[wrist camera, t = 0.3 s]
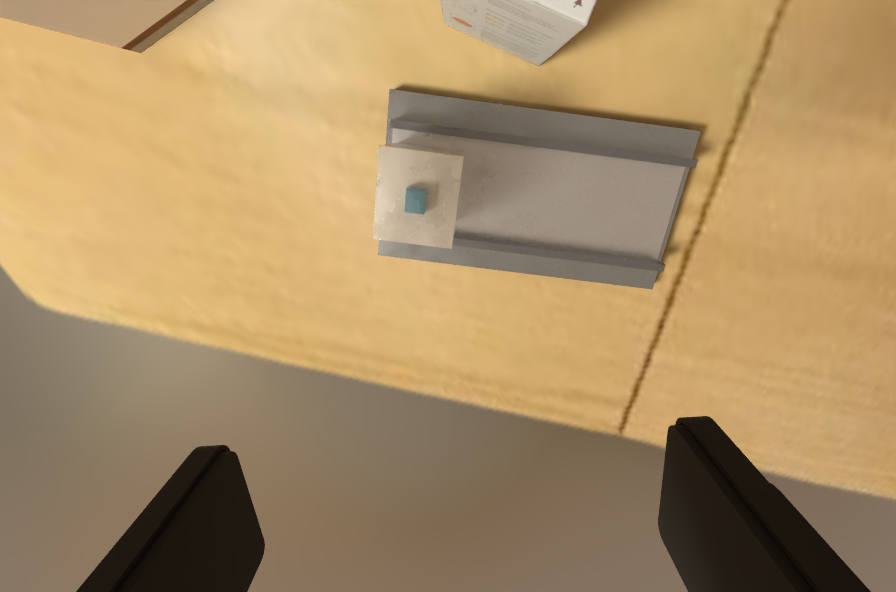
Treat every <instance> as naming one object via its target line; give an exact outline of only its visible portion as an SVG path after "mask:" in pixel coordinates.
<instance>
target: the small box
mask: <svg viewBox="0 0 896 592" xmlns="http://www.w3.org/2000/svg"><path fill="white" fill-rule="evenodd" d="M596 2H597V0H441V7H442V14H443V21H444V24H446V25H448V26H450V27H452V28H454V29H456V30H459V31H461V32H463V33H465V34H467V35H469V36H472V37H474V38H476V39H478V40H480V41H483V42H485V43H487V44H489V45H492V46H494V47H496V48H498V49H501V50H503V51H505V52H507V53H509V54H512V55H514V56H516V57H518V58H521V59H523V60H525V61H528V62H530V63H532V64H535V65H537V66H540V65H541V64H542V63H544V62H545V61H546V60H547V59H548V58H550V57H551V56H552V55H553V54H554V53H555V52H557V51H558V50H559V49H560V48H561V47H562V46H563V45H565V44H566V43H567V42H568V41H569V40H570V39H572V38H573V37H574V36H575V35H576V34H577V33H579V32H580V31H581V30H582V29H583V28H584V27H586V26H587V24H588V22H589V19H590V17H591V14H592V12H593V9H594V7H595V4H596Z"/></svg>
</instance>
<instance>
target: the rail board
mask: <svg viewBox="0 0 896 592" xmlns="http://www.w3.org/2000/svg"><path fill="white" fill-rule="evenodd" d="M700 133H701V131H697V130H689V129H682V128H675V127H667V126H660V125H652V124H645V123H638V122H630V121H623V120H615V119H608V118H600V117H593V116H586V115H578V114H571V113H563V112H556V111H549V110H541V109H534V108H526V107H519V106H511V105H504V104H497V103H489V102H482V101H474V100H467V99H460V98H452V97H445V96H437V95H430V94H422V93H415V92H408V91H400V90H393V89H390V91H389V106H388V120H387V134H386V144H385V145H379V152H378V168H377V183H376V199H375V214H374V229H373V239H377V240H379V248H378V255H382V256H390V257H398V258H406V259H414V260H422V261H430V262H438V263H446V264H454V265H462V266H470V267H478V268H486V269H494V270H502V271H510V272H518V273H526V274H534V275H542V276H550V277H558V278H566V279H574V280H582V281H590V282H598V283H606V284H614V285H622V286H630V287H638V288H646V289H653V286H654V283H655V279H656V276H657V273H658V271H660V272H663V271H664V267H665V264H663V263H661V260H662V256H663V253H664V250H665V247H666V243H667V240H668V237H669V234H670V230H671V227H672V224H673V221H674V217H675V214H676V211H677V208H678V204H679V201H680V198H681V194H682V191H683V188H684V185H685V181H686V178H687V175H688V172H689V168H696V164H697V161H698V160H695V159H693V155H694V152H695V149H696V146H697V142H698V139H699V136H700Z"/></svg>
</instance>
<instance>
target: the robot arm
mask: <svg viewBox="0 0 896 592" xmlns="http://www.w3.org/2000/svg"><path fill="white" fill-rule="evenodd" d="M658 526H659V531H660V535H661V538H662V540H663V542H664V544H665V546H666V548H667V550H668V552H669V554H670V556H671V558H672V560H673V562H674V564H675V566H676V568H677V570H678V572H679V574H680V576H681V578H682V580H683V582H684V584H685V586H686V588H687V590H688V592H870V590H869V589H868V588H867V587H866V586H865V585H864V584H863V583H862V581H861V580H860V579H859V578H858V577H857V576H856V575H855V574H854V573H853V572H852V570H851V569H850V568H849V567H848V566H847V565H846V564H845V563H844V561H843V560H842V559H841V558H840V557H839V556H838V555H837V554H836V553H835V551H834V550H832V548H831V547H830V546H829V545H828V544H827V543H826V541H825V540H824V539H823V538H822V537H821V536H820V535H819V534H818V533H817V531H816V530H815V529H814V528H813V527H812V526H811V525H810V524H809V523H808V522H807V520H806V519H805V518H804V517H803V516H802V515H801V514H800V513H799V511H798V510H797V509H796V508H795V507H794V506H793V505H792V504H791V503H790V501H789V500H788V499H787V498H786V497H785V496H784V495H783V494H782V493H781V491H779V490H778V489H777V488H776V487H775V486H774V485H773V484H771V483H769V482H768V481H767V480H766V479H765V477H764V476H763V475H762V474H761V473H760V472H759V471H758V470H757V468H756V467H755V466H754V465H753V464H752V463H751V462H750V461H749V459H748V458H747V457H746V456H745V455H744V454H743V453H742V452H741V450H740V449H739V448H738V447H737V446H736V445H735V444H734V443H733V442H732V440H731V439H730V438H729V437H728V436H727V435H726V434H725V433H724V431H723V430H722V429H721V428H720V427H719V426H718V425H717V424H716V422H715V421H714V420H713V419H712V418H710V417H708V416H701V417H684V418H678V419H677V421H676V424H675V425H672V426H670V427H669V428H668V434H667V443H666V452H665V462H664V471H663V480H662V490H661V499H660V508H659V517H658ZM264 547H265V543H264V538H263V535H262V532H261V528H260V526H259V522H258V519H257V516H256V513H255V510H254V506H253V504H252V500H251V497H250V494H249V491H248V488H247V484H246V481H245V478H244V475H243V472H242V469H241V465H240V462H239V459H238V456H237V454H236V453H235V452H232V451H230V449H229V448H228V447H227V446H225V445H217V446H200V447H197V448H196V449H194V450H193V451H192V452H191V454H190V455H189V456H188V457H187V458H186V460H185V461H184V462H183V463H182V464H181V466H180V467H179V468H178V469H177V470H176V472H175V473H174V474H173V475H172V477H171V478H170V479H169V480H168V481H167V483H166V484H165V485H164V486H163V487H162V489H161V490H160V491H159V492H158V493H157V495H156V496H155V497H154V498H153V499H152V501H151V502H150V503H149V504H148V506H147V507H146V508H145V509H144V510H143V512H142V513H141V514H140V515H139V516H138V518H137V519H136V520H135V521H134V522H133V524H132V525H131V526H130V527H129V529H128V530H127V531H126V532H125V534H124V535H123V536H122V537H121V538H120V539H119V541H118V542H117V543H116V544H115V545H114V547H113V548H112V549H111V550H110V551H109V553H108V554H107V555H106V556H105V558H104V559H103V560H102V561H101V562H100V564H99V565H98V566H97V567H96V568H95V570H94V571H93V572H92V573H91V574H90V576H89V577H88V578H87V579H86V580H85V582H84V583H83V584H82V585H81V586H80V588H79V589H78V590H77V591H76V592H247V591H248V589H249V587H250V584H251V582H252V580H253V578H254V576H255V573H256V571H257V569H258V567H259V565H260V562H261V560H262V557H263V554H264Z"/></svg>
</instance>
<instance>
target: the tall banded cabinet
mask: <svg viewBox="0 0 896 592" xmlns="http://www.w3.org/2000/svg"><path fill="white" fill-rule="evenodd" d="M212 1H213V0H0V17H2V18H6V19H9V20H13V21H17V22H21V23H25V24H29V25H33V26H37V27H41V28H45V29H49V30H53V31H56V32H60V33H64V34H68V35H72V36H76V37H80V38H84V39H88V40H92V41H96V42H100V43H103V44H107V45H111V46H115V47H119V48H123V49H127V50H131V51H135V52H139V53H141V52H143V51H144V50H145V49H147V48H148V47H149V46H151V45H152V44H154V43H155V42H156V41H158V40H159V39H161V38H162V37H163V36H165V35H166V34H168V33H169V32H170V31H172V30H173V29H174V28H176V27H177V26H179V25H180V24H181V23H183V22H184V21H186V20H187V19H188V18H190V17H191V16H193V15H194V14H195V13H197V12H198V11H200V10H201V9H202V8H204V7H205V6H206V5H208V4H209V3H211V2H212Z"/></svg>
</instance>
